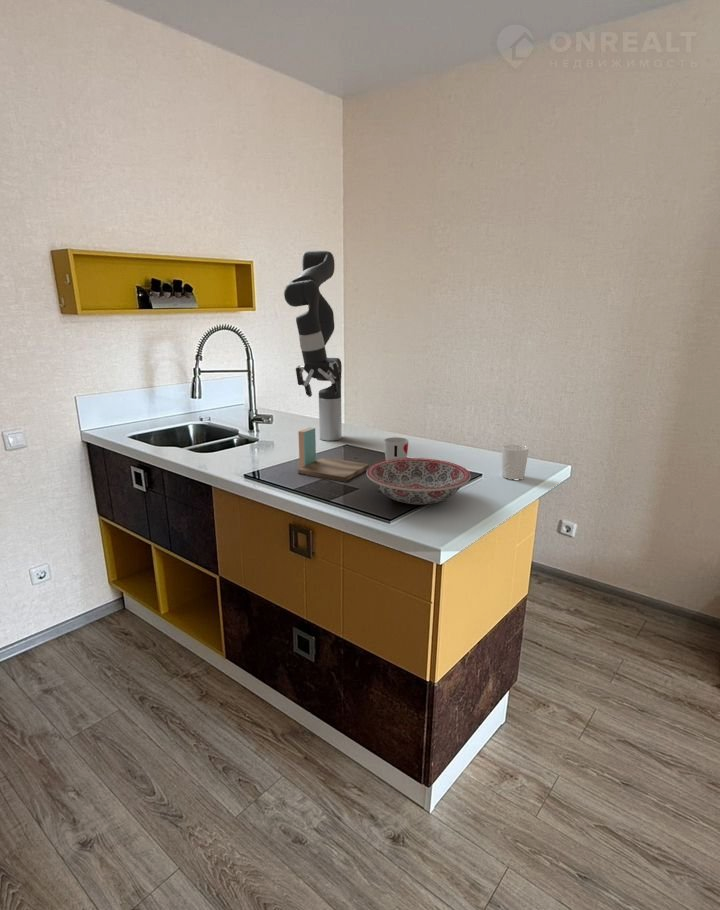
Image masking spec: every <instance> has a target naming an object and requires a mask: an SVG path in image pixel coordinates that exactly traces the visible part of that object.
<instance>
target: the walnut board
mask: <svg viewBox="0 0 720 910" xmlns="http://www.w3.org/2000/svg"><path fill="white" fill-rule="evenodd" d="M369 467H370V464H369V463H362V462H357V461H352V460H346V459H345V460H344V459H338V458H332V457H324V456H323V457H321V458H320V459H316V461H315V462H313V463H311V464H308V465H306V466H304V467H301V468H300V467H299V468H298V469H297V473H298V474H299V473H301V474H300V475H304V474H305V476H311V477H316V478H320V479H321V478H322V479H325V480H326V479H328V480H332V481H339V482H342V483H343V482H344V483H346V482H347V481H349V480H351V479H353V478H354V477H356V476H358V475H361V474H362V473H364V472H367V470H368V468H369Z"/></svg>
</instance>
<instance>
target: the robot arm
mask: <svg viewBox="0 0 720 910" xmlns="http://www.w3.org/2000/svg"><path fill="white" fill-rule="evenodd" d="M334 257H335V256H334V255H333V253H332V252H331V251H328V250H308V251H307V250H306V251H304V252H303V254H302V257H301V267H302V272H301V273H300V275H299V276H298V277H296V278H294V279H292V280H291V281H289V282H288V283H287V284H286V285H285V287H284V290H283V291H284V292H283V297H284V300H285V302H286V303H287V305H289V306H291V307H296V308H297V307H303V306H308V307H307V308H308V310H307V311H305V312H302V313H300V314H298V315H296V318H295V321H296V322H295V323H296V326H297V332H298V337H299V344H300V345H299V346H300V351H301V355H302V359H303V360H302V361H303V363H304V365H302V366H301V365H297V366H296V368H295V372H296V374H295V375H296V381H297V384H298V385H299V386H303V387H304V390H305V394H306V396H308V398H311V397H312V396H313V393H312V387H311V384H310V382H311V380H312V379H316V380H317V381H321V382H330V383H331V385H330V386H328V387H325V388H323V389H320V390H319V391H318V420H319V421H318V422H319V427H318V428H319V430H318V431H319V440H320V441H321V440H322V441H328V442H329V441H330V442H331V441H338V440H341V439H343V438H342V437H343V436H342V435H343V434H342V430H343V429H342V426H343V425H342V370H343V369H342V367H343V366H342V362H341V359H340V358H339V357H328V356H327V350H326V345H327V343H328V342H329V340H330V338H331V337H332V335H333V333H334V331H335V318H334V317H335V316H334V311H333V308H332V307H331V305H330V303H329V302H328V301H327V299H326V298H325V297H324V296H323V295H322V293H321V291H320V287H321V285H323V284H324V283H325V282H327V281H328V280H330V279H331V278H332V277H333V276H334V273H335V258H334ZM303 372H305V373H307V376H306V378H305V380H304V375H303Z"/></svg>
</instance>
